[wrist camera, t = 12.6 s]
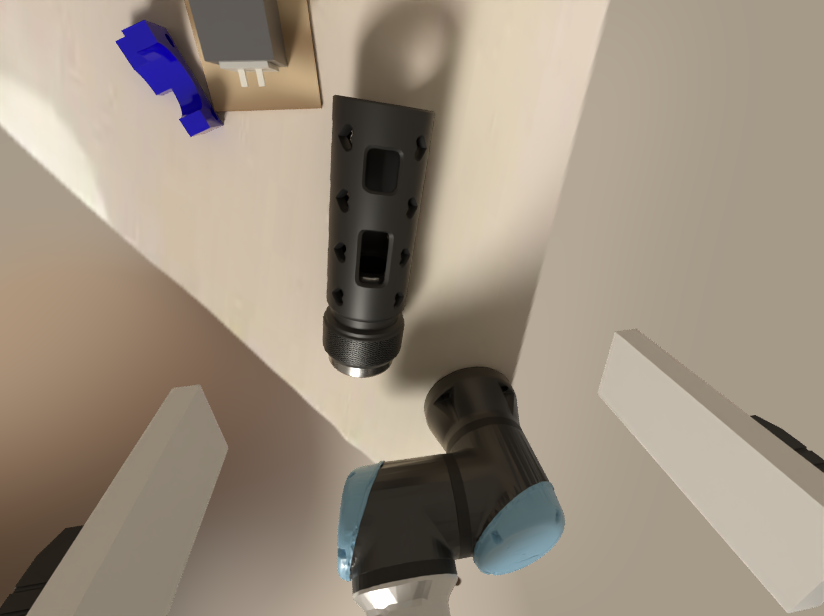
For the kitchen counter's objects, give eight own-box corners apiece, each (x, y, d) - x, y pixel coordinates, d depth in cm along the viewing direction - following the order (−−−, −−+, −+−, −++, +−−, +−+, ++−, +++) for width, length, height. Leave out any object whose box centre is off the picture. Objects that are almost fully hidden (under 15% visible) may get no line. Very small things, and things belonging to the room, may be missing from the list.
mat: (321, 108, 35) (321, 108, 35) (216, 111, 34) (214, 111, 34) (296, -77, 29) (295, -79, 28) (164, -80, 27) (161, -83, 27)
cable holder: (131, 45, 31) (104, 38, 28) (166, 28, 31) (144, 19, 27) (192, 139, 35) (175, 143, 32) (224, 125, 35) (210, 127, 32)
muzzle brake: (426, 110, 37) (449, 113, 28) (393, 333, 50) (402, 382, 42) (332, 94, 35) (326, 93, 26) (325, 330, 49) (319, 381, 40)
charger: (291, 87, 34) (278, 84, 28) (236, 88, 33) (211, 86, 27) (273, -20, 30) (253, -49, 24) (210, -20, 29) (175, -50, 23)
